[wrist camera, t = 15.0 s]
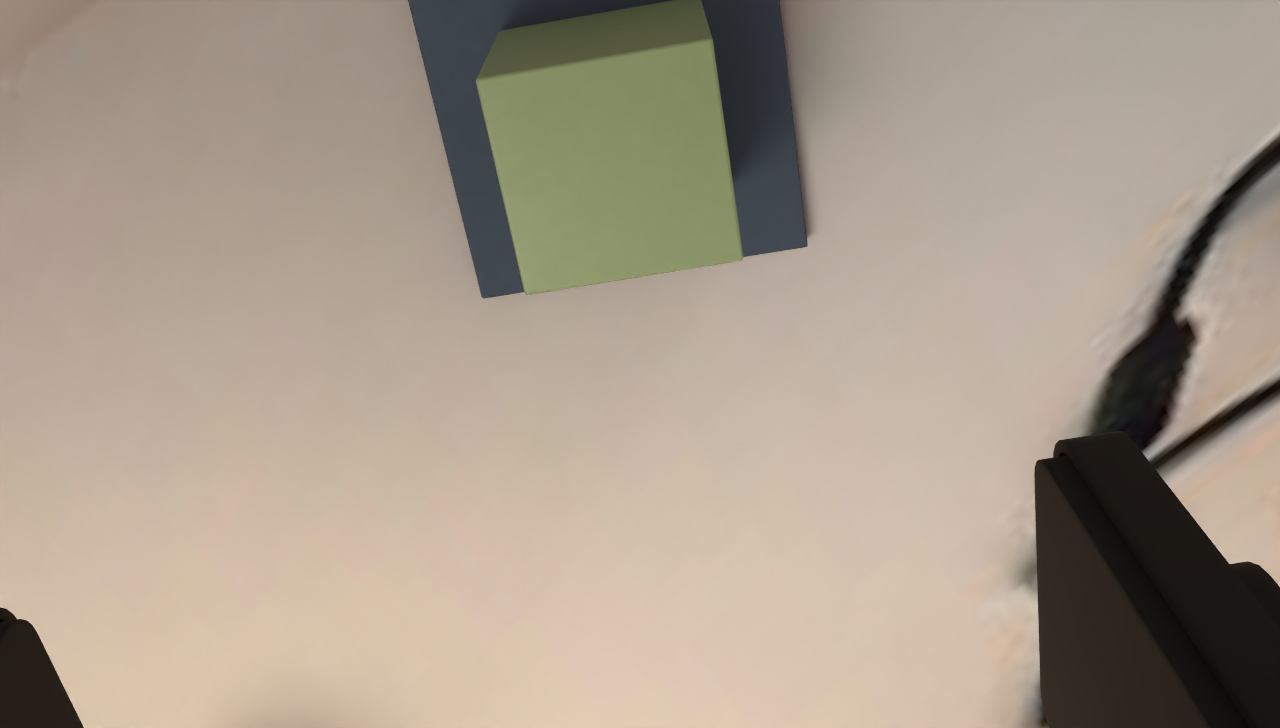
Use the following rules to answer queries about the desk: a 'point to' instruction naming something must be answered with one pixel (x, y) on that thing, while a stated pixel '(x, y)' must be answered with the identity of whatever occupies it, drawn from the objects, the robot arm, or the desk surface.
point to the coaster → (487, 3)
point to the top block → (611, 146)
